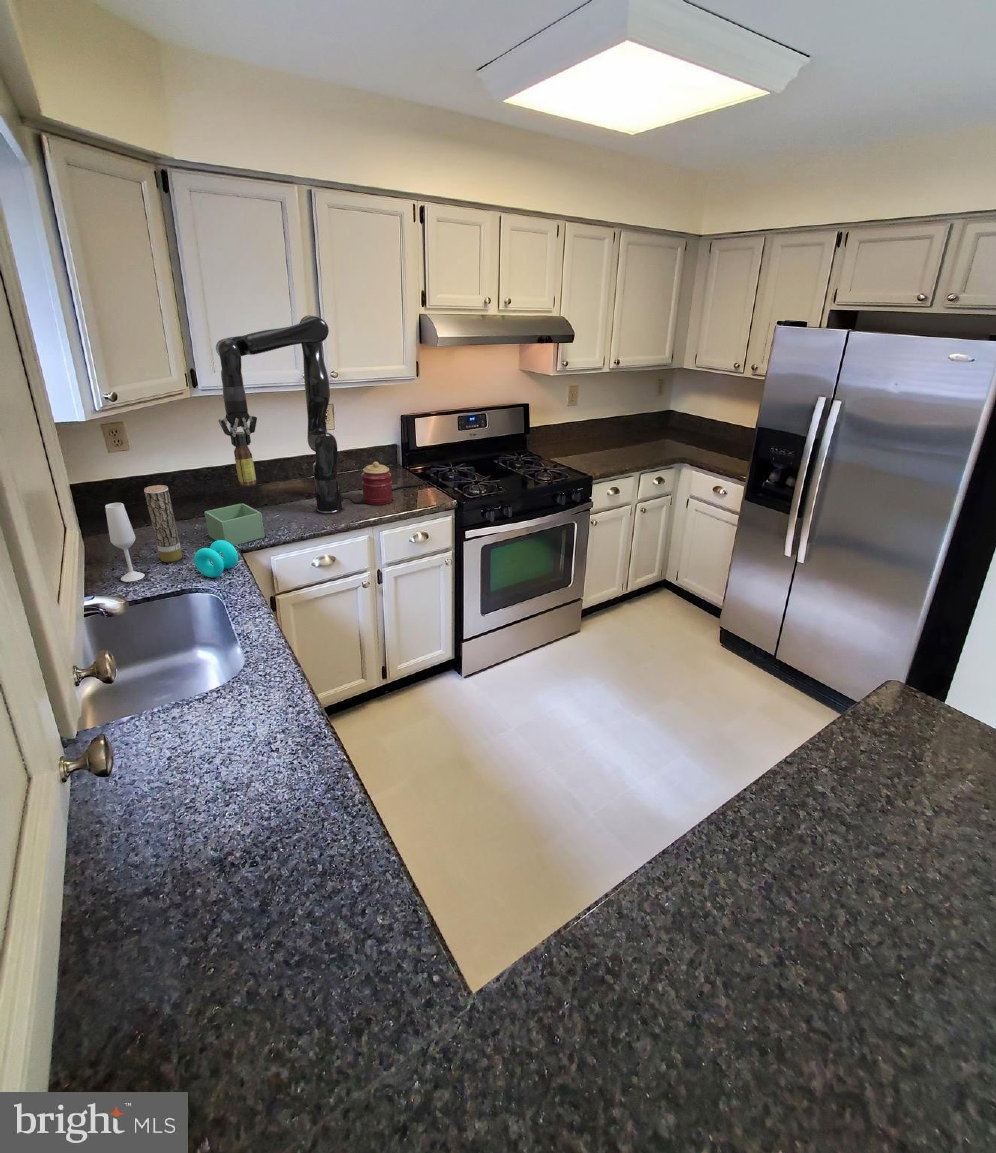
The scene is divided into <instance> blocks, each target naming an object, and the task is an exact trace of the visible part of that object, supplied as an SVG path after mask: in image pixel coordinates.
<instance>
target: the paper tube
mask: <svg viewBox="0 0 996 1153" xmlns="http://www.w3.org/2000/svg"><path fill="white" fill-rule="evenodd" d="M143 490H144V491H143V492H144V496H145V501H146V504H147V509H148V513H149V517H150V522H151V526H152V531H153V535H154V539H155V543H156V547H157V552H158V556H159V559H160V561H161V562H163V563H175V562H178V561H180V560H181V559H182V558H183V553H182V552H183V551H182V547H181V542H180V536H179V533H178V528H177V523H176V519H175V515H174V509H173V505H172V504H173V503H172V501H171V495H170V491H169V487H168V486H167V485H163V484H157V485H151V486H147V487H144V489H143Z"/></svg>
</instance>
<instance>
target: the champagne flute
mask: <svg viewBox="0 0 996 1153" xmlns="http://www.w3.org/2000/svg"><path fill="white" fill-rule="evenodd" d="M104 508H105V514H106V515H105V516H106V521H107V522H106V523H107V528H108V535H109V541H110V543H111V544H112V545H113V546H114V547H115V548H118V549H120V550H123V553H124V556H125V561H126V564H127V565H126V566H127V569H128V572H127V573H126V574H124V575H122V576H121V577H120V580H121V581H122V582H126V583H129V582H136V581H139V580H142V579H143V578H145V575H146V574H145V573H143V572H140V571H137V570H136V571H135V570H134V568H133V567H134V566H133V563H132V559H131V556H130V552H129V549H130V548H131V547H132V546H133V544H134V543H135V541H136V535H135V532H134V529H133V526H132V523H131V521H130V519H129V516H128V513H127V510H126V508H125V504H124V503H122V502H111V503H107V504H105V506H104Z"/></svg>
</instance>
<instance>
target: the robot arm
mask: <svg viewBox="0 0 996 1153" xmlns="http://www.w3.org/2000/svg"><path fill="white" fill-rule="evenodd" d="M329 332H330V330H329V325H328V324H327V322H326V320H324V319H323V318H321V317H319V316H317V315H311V314H309V315H304V316H303V317H302V318H301V319H300V321H299V323H297V324H294V325H290V326H285V327H279V328H271V329H264V330H260V331H259V330H258V331H255V332H250V333H247V334H243V335H237V336H231V337H230V336H229V337H226V338H221V339H220V340H218V341H217V342H216V344H215V351H216V354H217V355H218V356H219V360H220V367H221V370H220V377H221V384H222V385H221V386H222V398H223V404H224V409H225V417H223V418H220V419H218V420H217V421H218V423H219V426H220V427H221V429H222V431H223V433H224V435H226V436H228V437H230V442H231V445H232V446H233V447H234V448H236V447H238V445H237V438H236V437H235V436H236V432H238V428H240V427H241V428H242V432H245V434H246V443H247V445H248V446H250V445H251V443H252V441H251V440H252V439H251V434H253V433H255V432H256V427H257V422H258V421H257V420H258V417H257V416H254V415H250V414H249V410H248V400H247V394H246V389H245V386H244V379H243V378H244V377H243V372H242V357H244V356H248V355H249V356H255V355H259V354H263V353H267V352H271V351H275V350H278V349H283V348H286V347H289V346H295V345H301V349H302V350H301V351H302V358H303V383H304V392H305V393H304V394H305V395H304V396H305V403H306V415H307V444H308V447H309V448H310V449H311V450H312V451H313V452H314V453H315V462H314V463H313V464H312V470H313V479H314V489H315V490H314V491H315V502H316V511H317V513H320V514H327V515H330V514H336V513H338V512H340V511H342V510H343V503H342V502H344V500H348V501H350V502H351V503H353V504H366V503H365V501H364V500H362V501H359V500H358V501H357V500H354V499H352V498H350V497H348V496H344V495H342V492H341V490H342V489H341V487H339V481H338V469H337V468H338V467H337V466H338V463H339V456H338V455H339V453H338V452H339V451H338V441H337V439H336V437H335V436H334V435H333V433H330V432H328V428H327V416H326V415H327V411H328V407H329V404H330V400H331V391H330V390H331V389H330V379H329V373H328V370H327V367H326V364H325V360H324V356H323V355H324V354H323V342H324V341H325V340H326V339H327V338H328V335H329ZM248 422H249V425H248ZM228 423H229V427H228V426H227V425H228ZM429 481H430V480H424V481H421V482H420V483H423V484H426V483H425V482H428V483H427V484H430V485H433V483H432V482H431V481H430V482H429ZM416 484H417V485H414V484H406V485H407V486H405V485H400V486H401V487H399V486H396V487H397V488H395V487H393V488H394V489H393V488H392V492H393V491H395V490H399V489H403V488H413V487H418V486H421V485H423V484H419V483H416Z"/></svg>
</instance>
